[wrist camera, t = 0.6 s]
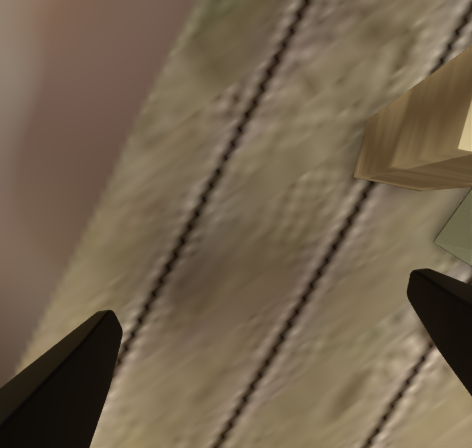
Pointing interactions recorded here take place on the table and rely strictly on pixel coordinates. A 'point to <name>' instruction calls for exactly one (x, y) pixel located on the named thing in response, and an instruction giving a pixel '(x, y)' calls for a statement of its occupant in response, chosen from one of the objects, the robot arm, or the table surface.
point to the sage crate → (459, 232)
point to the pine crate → (424, 133)
